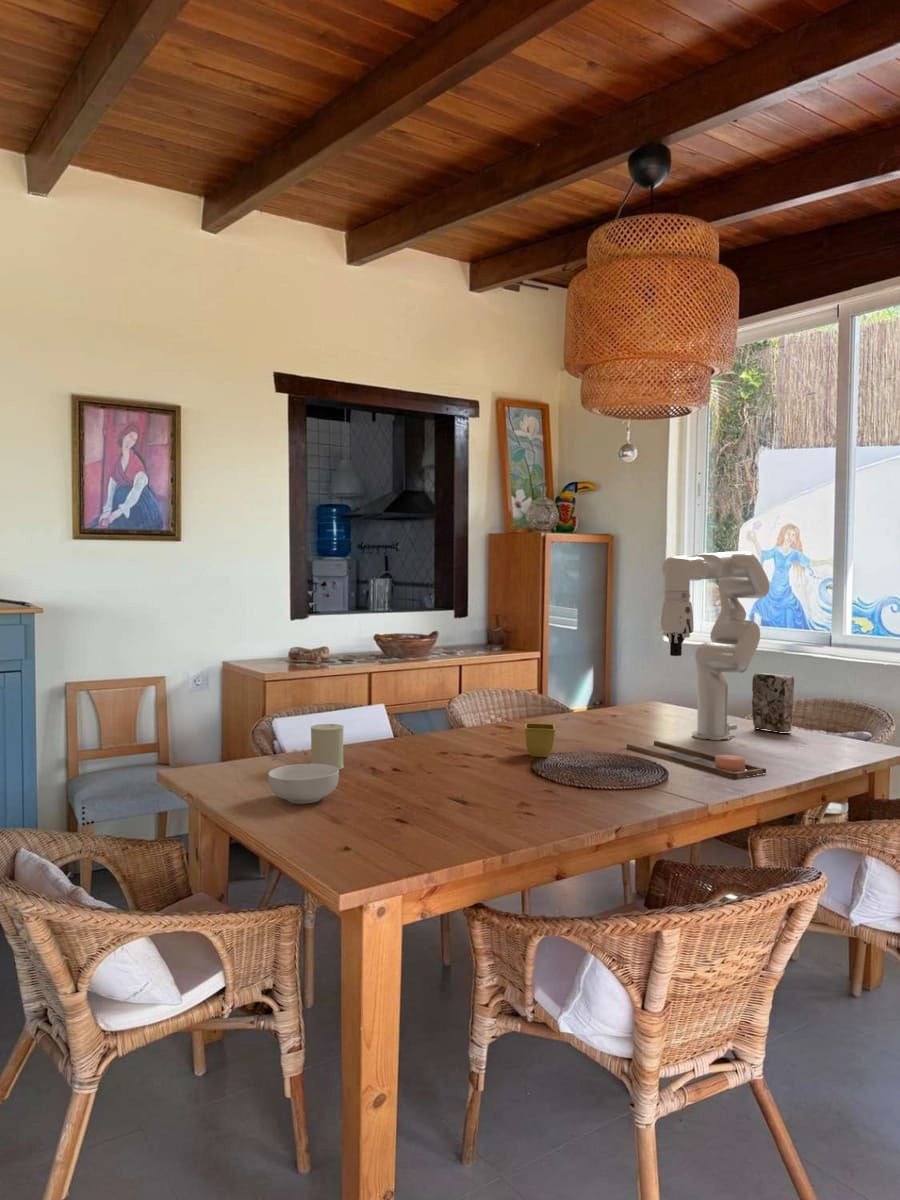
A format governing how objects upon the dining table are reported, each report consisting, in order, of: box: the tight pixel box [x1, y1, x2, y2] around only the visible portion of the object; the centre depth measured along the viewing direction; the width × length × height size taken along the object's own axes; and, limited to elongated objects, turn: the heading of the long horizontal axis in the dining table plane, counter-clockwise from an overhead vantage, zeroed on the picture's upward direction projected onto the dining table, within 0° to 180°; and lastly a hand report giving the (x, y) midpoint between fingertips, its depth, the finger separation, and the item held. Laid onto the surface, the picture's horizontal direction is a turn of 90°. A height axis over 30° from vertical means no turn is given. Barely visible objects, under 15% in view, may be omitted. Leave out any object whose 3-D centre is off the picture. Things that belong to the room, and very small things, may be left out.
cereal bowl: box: [267, 763, 340, 805], centre depth 214 cm, size 17×17×7 cm
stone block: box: [751, 672, 795, 732], centre depth 306 cm, size 13×7×20 cm, turn 42°
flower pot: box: [524, 722, 556, 758], centre depth 265 cm, size 9×9×9 cm
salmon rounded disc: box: [714, 754, 746, 772], centre depth 247 cm, size 8×8×4 cm
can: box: [310, 723, 345, 771], centre depth 247 cm, size 9×9×12 cm
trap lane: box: [626, 740, 767, 780], centre depth 259 cm, size 12×44×2 cm, turn 29°
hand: (675, 655), depth 276 cm, fingers closed
